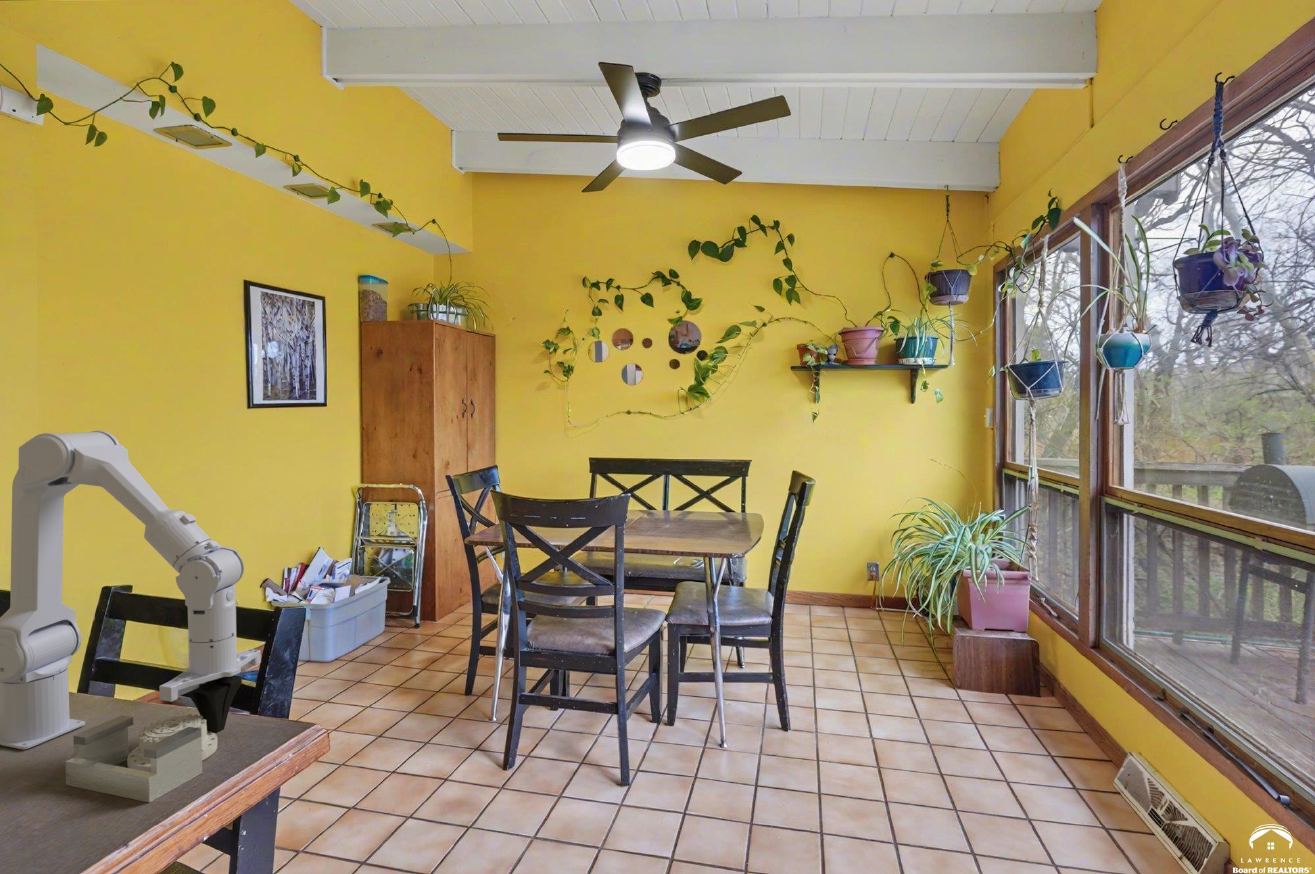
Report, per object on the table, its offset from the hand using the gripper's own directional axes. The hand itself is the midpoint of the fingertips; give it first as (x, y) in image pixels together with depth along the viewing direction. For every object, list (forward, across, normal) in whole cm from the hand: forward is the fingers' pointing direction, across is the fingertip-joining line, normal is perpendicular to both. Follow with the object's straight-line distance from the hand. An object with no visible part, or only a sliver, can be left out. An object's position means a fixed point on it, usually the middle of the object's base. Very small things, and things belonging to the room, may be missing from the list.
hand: (214, 730), depth 99 cm
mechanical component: (+1, -6, +1) cm, 6 cm away
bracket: (+1, -11, 0) cm, 11 cm away
